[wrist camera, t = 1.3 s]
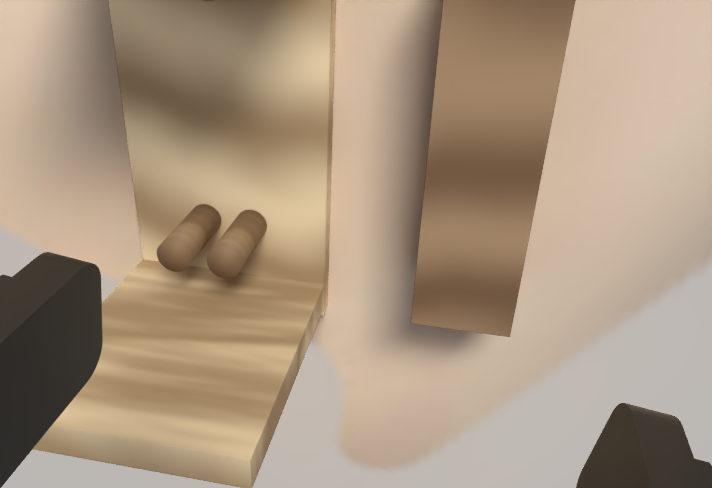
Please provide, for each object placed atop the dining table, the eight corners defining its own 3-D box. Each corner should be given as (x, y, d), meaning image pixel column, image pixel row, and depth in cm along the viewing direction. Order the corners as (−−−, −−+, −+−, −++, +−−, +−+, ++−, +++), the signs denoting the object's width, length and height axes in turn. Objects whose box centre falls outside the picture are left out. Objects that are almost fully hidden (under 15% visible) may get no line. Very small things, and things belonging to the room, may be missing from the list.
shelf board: (457, -77, 26) (450, -70, 21) (571, -71, 25) (587, -63, 21) (421, 267, 33) (410, 323, 29) (507, 278, 33) (509, 337, 29)
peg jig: (97, -181, 26) (-203, -236, 15) (340, -172, 25) (216, -224, 13) (155, 280, 37) (8, 453, 25) (327, 305, 35) (252, 498, 24)
